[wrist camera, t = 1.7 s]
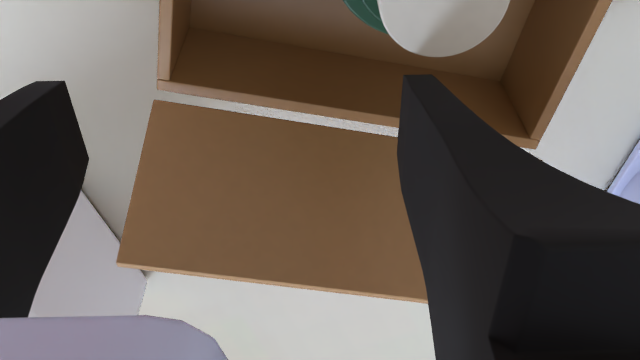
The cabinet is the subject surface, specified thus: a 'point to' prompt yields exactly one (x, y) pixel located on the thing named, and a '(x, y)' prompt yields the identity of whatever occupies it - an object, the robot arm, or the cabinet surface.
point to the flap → (270, 205)
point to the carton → (371, 60)
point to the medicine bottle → (87, 272)
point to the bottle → (432, 22)
